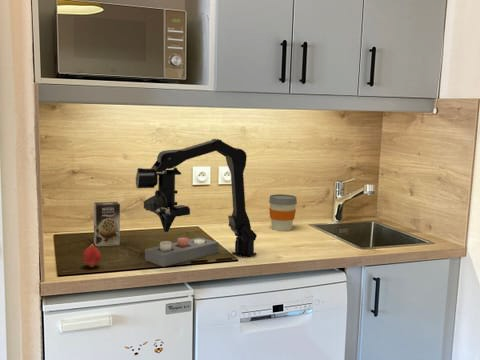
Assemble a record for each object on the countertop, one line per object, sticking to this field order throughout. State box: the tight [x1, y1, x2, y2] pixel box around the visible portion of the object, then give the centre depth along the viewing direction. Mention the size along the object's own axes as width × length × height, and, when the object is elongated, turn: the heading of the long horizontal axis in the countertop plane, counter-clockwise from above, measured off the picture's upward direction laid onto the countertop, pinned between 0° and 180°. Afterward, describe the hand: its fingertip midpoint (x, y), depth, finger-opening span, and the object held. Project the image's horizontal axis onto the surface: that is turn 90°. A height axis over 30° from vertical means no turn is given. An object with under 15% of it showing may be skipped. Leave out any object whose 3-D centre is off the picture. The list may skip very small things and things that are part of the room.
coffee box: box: [93, 201, 121, 247], centre depth 199 cm, size 9×6×16 cm
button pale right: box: [194, 239, 205, 244], centre depth 193 cm, size 4×4×3 cm
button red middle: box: [176, 237, 190, 248], centre depth 187 cm, size 4×4×3 cm
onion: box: [82, 243, 102, 268], centre depth 171 cm, size 6×6×8 cm
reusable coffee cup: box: [268, 193, 298, 232], centre depth 235 cm, size 13×13×15 cm
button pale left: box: [159, 240, 172, 252], centre depth 181 cm, size 4×4×3 cm
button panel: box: [144, 237, 219, 268], centre depth 187 cm, size 10×26×4 cm, turn 137°
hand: (166, 231), depth 180 cm, fingers closed
